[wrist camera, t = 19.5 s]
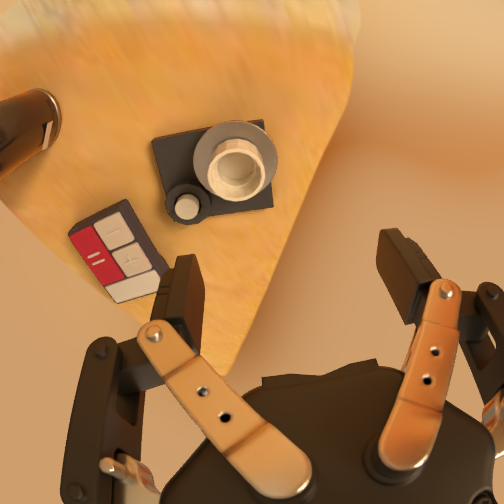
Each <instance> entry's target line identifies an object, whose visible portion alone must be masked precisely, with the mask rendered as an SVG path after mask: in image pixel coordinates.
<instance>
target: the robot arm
mask: <svg viewBox="0 0 504 504" xmlns="http://www.w3.org/2000/svg"><path fill="white" fill-rule="evenodd" d="M60 127H61V111H60V107H59V104H58V102H57V100H56V99H55V97H54V96H53V95H52V94H51V93H49V92H48V91H46V90H43V89H33V90H29V91H27V92H25V93H23V94H20V95H16V96H14V97H11V98H8V99H5V100H3V101H0V180H2V179H3V178H4V177H5V176H7V175H8V174H9V173H11V172H12V171H13V170H15V169H16V168H17V167H19V166H20V165H21V164H23V163H24V162H26V161H27V160H28V159H30V158H31V157H33V156H34V155H36V154H37V153H39V152H40V151H43V150H45V149H46V148H47V147H49V146H50V145H51V144H52V143H53V142H54V141H55V140H56V138H57V136H58V134H59V131H60ZM378 240H379V241H378V247H377V255H376V265H377V270H378V272H379V274H380V276H381V278H382V279H383V281H384V283H385V285H386V287H387V289H388V291H389V293H390V295H391V297H392V299H393V301H394V303H395V305H396V307H397V309H398V311H399V313H400V315H401V318H402V320H403V322H404V324H405V325H408V324H412V323H415V325H416V328H415V331H414V334H413V337H412V340H411V343H410V346H409V349H408V352H407V355H406V358H405V361H404V364H403V366H402V369H401V371H400V370H397V369H394V368H391V367H385V366H378V363H377V360H376V359H370V360H366V361H361V362H356V363H351V364H348V365H346V366H344V367H341V368H339V369H337V370H334V371H332V372H330V373H327V374H325V375H321V376H316V375H301V374H285V375H278V376H269V377H262V386H259V387H256V388H254V389H252V390H250V391H248V392H247V393H245V394H244V395H243V396H241V397H240V396H239V395H238V394H237V393H236V392H235V391H234V390H233V389H232V388H231V387H230V386H229V384H228V383H226V382H225V380H224V379H223V378H221V376H220V375H219V374H218V373H217V372H216V371H215V370H214V369H213V368H212V367H211V365H210V364H209V363H208V362H207V361H206V360H205V359H204V358H203V357H202V356H201V355H200V348H201V335H202V323H203V312H204V301H205V286H204V281H203V278H202V275H201V271H200V268H199V265H198V261H197V258H196V255H195V254H190V255H182V256H177V258H176V262H175V267H174V268H173V269H167V270H166V272H165V273H164V274H163V275H162V277H161V278H160V282H159V286H158V290H157V293H156V294H157V296H156V297H155V301H154V305H153V309H152V313H151V317H150V322H148V323H146V324H145V325H143V326H142V327H141V328H140V330H139V332H138V334H137V337H135V338H133V339H130V340H127V341H124V342H121V343H118V344H117V343H116V341H115V340H114V339H113V338H111V337H101V338H98V339H96V340H95V341H93V343H91V344H90V346H89V347H88V349H87V352H86V355H85V359H84V362H83V366H82V370H81V374H80V378H79V382H78V386H77V391H76V395H75V399H74V404H73V408H72V413H71V418H70V424H69V429H68V435H67V440H66V446H65V454H64V460H63V468H62V475H61V484H60V496H61V499H62V501H63V503H64V504H498V503H497V502H496V500H495V498H494V495H493V488H492V479H493V468H494V462H495V460H496V459H498V458H500V457H502V456H504V292H503V290H502V289H501V288H500V287H499V286H497V285H496V284H494V283H491V282H483V283H481V284H480V285H479V287H478V289H477V291H476V292H471V291H461V290H460V288H459V286H458V285H457V284H455V283H454V282H452V281H451V280H448V279H442V277H441V276H440V274H439V273H438V272H437V270H436V269H435V267H434V266H433V264H432V263H431V262H430V260H429V259H427V256H426V255H425V254H424V253H423V251H422V249H421V248H420V247H419V245H418V244H417V243H416V242H414V241H413V240H411V239H410V238H405V237H404V236H403V235H402V233H401V232H400V231H399V230H398V228H391V229H383V230H381V231H380V233H379V239H378ZM488 331H490V333H491V335H492V336H493V338H494V340H495V342H496V349H495V347H494V345H493V343H492V341H491V339H490V337H489V335H488ZM458 342H459V344H460V346H461V348H462V350H463V353H464V355H465V357H466V360H467V362H468V364H469V367H470V369H471V372H472V374H473V377H474V379H475V382H476V384H477V387H478V389H479V392H480V395H481V397H482V400H483V403H484V406H485V407H484V409H483V412H482V422H481V423H480V422H479V421H477V420H476V419H474V418H473V417H471V416H470V415H468V414H466V413H465V412H463V411H462V410H460V409H459V408H457V407H455V406H454V405H453V404H451V403H450V402H448V401H447V400H445V399H446V396H447V391H448V388H449V384H450V380H451V376H452V372H453V367H454V363H455V357H456V353H457V347H458ZM163 384H166V386H167V387H168V389H169V390H170V391H171V393H172V394H173V395H174V397H175V398H176V399H177V401H178V402H179V403H180V405H181V406H182V407H183V409H184V410H185V411H186V412H187V414H188V415H189V416H190V417H191V419H192V420H193V421H194V422H195V424H196V425H197V426H198V428H199V429H200V430H201V431H202V432H203V434H204V435H205V436H206V439H205V440H204V441H203V442H202V443H201V444H200V446H199V447H198V448H197V449H196V450H195V452H194V453H193V454H192V455H191V456H190V458H189V459H188V460H187V461H186V463H184V465H183V466H182V467H181V468H180V469H179V470H178V471H177V473H176V474H175V475H174V476H173V477H172V478H171V479H170V480H169V482H168V483H167V484H166V485H165V487H164V488H163V491H162V493H160V492H159V491H158V490H157V489H156V487H155V485H154V480H153V476H152V473H151V471H150V470H149V468H148V467H147V466H145V465H144V464H142V463H140V460H141V441H142V425H143V414H144V402H145V392H146V390H148V389H151V388H154V387H157V386H160V385H163Z"/></svg>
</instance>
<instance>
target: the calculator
mask: <svg viewBox="0 0 504 504" xmlns="http://www.w3.org/2000/svg"><path fill="white" fill-rule="evenodd" d="M68 236H69V238H70V240H71V241H72V243H73V244H74V246H75V247H76V249H77V250H78V252H79V253H80V255H81V256H82V258H83V259H84V260H85V262H86V263H87V265H88V266H89V268H90V269H91V270H92V272H93V273H94V275H95V276H96V277H97V279H98V280H99V282H100V283H101V284H102V285H103V287H104V288H105V289H106V291H107V292H108V293H109V295H110V296H111V297H112V299H113V300H114V301H115V302H116V303H117V304H120V303H123V302H126V301H130V300H133V299H136V298H139V297H143V296H146V295H149V294H153V293H156V292H157V290H158V286H159V282H160V278H161V277H162V275H163V274H164V273H165V272H166V270H167V269H170V268H169V266H168V264H167V263H166V261H165V260H164V258H163V257H162V256H161V255H159V253H158V252H157V250H156V248H155V247H154V245H153V243H152V242H151V240H150V238H149V236H148V235H147V233H146V231H145V230H144V228H143V226H142V224H141V223H140V221H139V219H138V218H137V216H136V214H135V212H134V210H133V209H132V207H131V205H130V203H129V202H128V200H126V199H124V200H122V201H120V202H118V203H116V204H114V205H112V206H110V207H108V208H105V209H103V210H101V211H99V212H97V213H96V214H94V215H92V216H90V217H88V218H86V219H84V220H82V221H80V222H78V223H76V224H75V225H74V226H73V228H72V229H71V230H70V231H69V232H68Z"/></svg>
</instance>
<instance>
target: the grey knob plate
mask: <svg viewBox="0 0 504 504" xmlns="http://www.w3.org/2000/svg"><path fill="white" fill-rule="evenodd" d="M246 122H249V123H252V124H254V125H257V126H258V127H260V128H261V129H263V130H264V131H265V128H264V121H263V119H260V120H253V121H246ZM210 128H212V127H207V128H202V129H196V130H191V131H186V132H181V133H176V134H171V135H167V136H162V137H158V138H154V139H153V140H152V145H153V149H154V153H155V157H156V160H157V164H158V168H159V172H160V175H161V179H162V183H163V186H164V190H165V193H166V197H167V198H166V201H165V206H166V209H167V212H168V214H169V215H170V216H171V217H172V218H173V221H174V222H178V223H182V224H185V225H191V224H198V223H200V222H201V221H202V220H204V219H205V218H206V217H208V216H215V215H222V214H229V213H236V212H243V211H250V210H257V209H265V208H272V207H274V205H273V196H272V187H271V182H270V183H269V184H268V185H267V186H266V187H265V188H264V189H263V190H262V191H260V192H259V193H257V194H256V195H254V196H253V197H251V198H249V199H247V200H243V201H236V202H235V201H230V200H225V199H223V198H221V197H220V196H217V195H215V194H213V193H211V192H210V191H209V190H207V189H206V188H205V187H204V186H203V185H202V184H201V182H200V181H199V179H198V178H197V176H196V173H195V170H194V165H193V156H194V151H195V148H196V145H197V143H198V141H199V140H200V138H201V137H202V136H203V134H204V133H205V132H206V131H207V130H209V129H210ZM184 194H192V195H194V196H195V197H196V198H197V199H198V201H199V210H198V213H197V215H196V216H195V217H194V218H192V219H188V220H186V219H182V218H180V217H179V216H178V215H177V214H176V212H175V205H176V203H177V200H178V198H179V197H180V196H181V195H184Z"/></svg>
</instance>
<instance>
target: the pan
mask: <svg viewBox="0 0 504 504" xmlns="http://www.w3.org/2000/svg"><path fill="white" fill-rule="evenodd" d="M231 139H242V140H246V141H249V142H250V143H252V144H253V145H254V146H256V147H257V149H258V150H259V152H260V154H261V156H262V160H263V164H264V169H265V180H264V183H263V186H262V188H261V189H260V190H259V191H258V193H259V192H260V191H262V190H263V189H264V188H265V187H266V186H267V185H268V184H269V183H270V182H271V180H272V179H273V177H274V175H275V172H276V169H277V163H278V157H277V151H276V148H275V145H274V143H273V141H272V139H271V138H270V136H269V135H268V134H267V133H266V132H265V131H264V130H263V129H261V128H260V127H258V126H257V125H254V124H252V123H249V122H246V121H240V120H232V121H226V122H222V123H219V124H217V125H215V126H213V127H212V128H210V129H209V130H207V131H206V132H205V133H204V134H203V136H202V137H201V138H200V140H199V141H198V143H197V145H196V148H195V151H194V156H193V165H194V170H195V173H196V176H197V178H198V179H199V181H200V182H201V184H202V185H203V186H204V187H205V188H206V189H207V190H209V191H210V192H211V193H213V194H215V192H214V191H213V190H212V188H211V187H210V185H209V181H208V177H207V173H208V169H209V164H210V160H211V156H212V153H213V151H214V150H215V149H216V147H217V146H218V145H219V144H221V143H223V142H225V141H226V140H231ZM215 195H217V194H215ZM217 196H218V195H217Z"/></svg>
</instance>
